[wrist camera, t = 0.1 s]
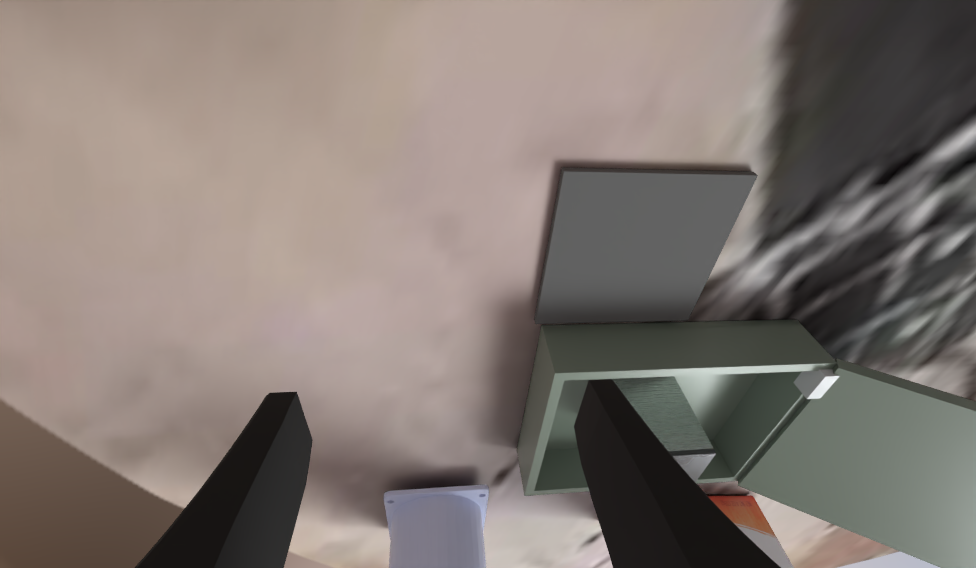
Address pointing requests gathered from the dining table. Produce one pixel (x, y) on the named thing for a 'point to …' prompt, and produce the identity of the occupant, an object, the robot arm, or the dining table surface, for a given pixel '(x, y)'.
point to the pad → (635, 242)
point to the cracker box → (753, 525)
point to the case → (776, 426)
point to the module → (670, 420)
